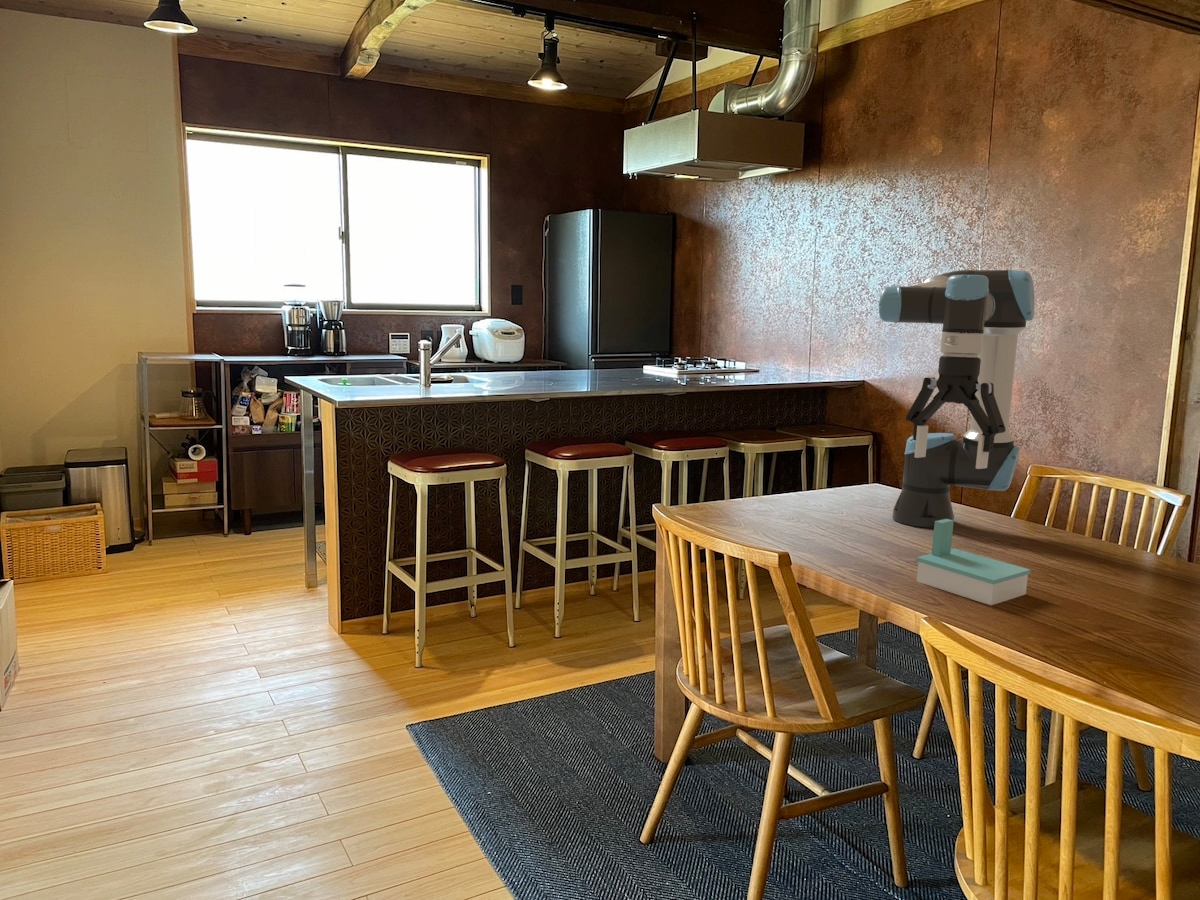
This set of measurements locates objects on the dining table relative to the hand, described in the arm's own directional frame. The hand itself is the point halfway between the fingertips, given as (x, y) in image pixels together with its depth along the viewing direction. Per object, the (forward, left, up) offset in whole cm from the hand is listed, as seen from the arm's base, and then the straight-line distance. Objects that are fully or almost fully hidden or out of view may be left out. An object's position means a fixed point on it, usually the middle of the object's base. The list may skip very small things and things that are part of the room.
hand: (949, 462), depth 172 cm
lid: (0, +7, -20) cm, 21 cm away
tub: (0, +7, -25) cm, 26 cm away
